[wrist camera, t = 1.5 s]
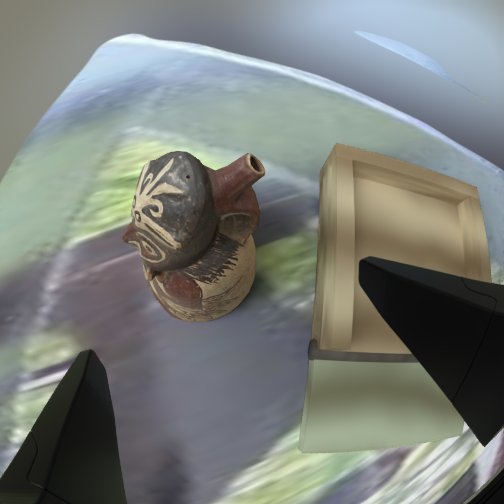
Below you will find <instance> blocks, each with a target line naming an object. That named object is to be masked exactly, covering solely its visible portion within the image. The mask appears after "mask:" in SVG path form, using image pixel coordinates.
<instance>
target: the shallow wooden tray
mask: <svg viewBox="0 0 504 504" xmlns="http://www.w3.org/2000/svg"><path fill="white" fill-rule="evenodd" d="M368 256H373V257H378V258H382V259H387V260H391V261H396V262H400V263H405V264H409V265H414V266H418V267H422V268H427V269H431V270H435V271H440V272H444V273H448V274H453V275H457V276H459V277H460V276H461V277H465V278H470V279H474V280H479V281H484V282H489V283H492V279H491V269H490V260H489V252H488V245H487V238H486V231H485V226H484V220H483V215H482V209H481V205H480V200H479V195H478V191H477V187H475V186H472V185H470V184H467V183H465V182H462V181H459V180H457V179H454V178H451V177H449V176H446V175H443V174H440V173H437V172H434V171H432V170H429V169H426V168H423V167H420V166H416V165H413V164H410V163H407V162H404V161H401V160H397V159H394V158H391V157H387V156H384V155H380V154H377V153H373V152H370V151H366V150H362V149H358V148H355V147H351V146H347V145H343V144H339V143H336V144H335V146H334V148H333V149H332V151H331V153H330V155H329V157H328V158H327V160H326V162H325V164H324V166H323V168H322V169H321V171H320V201H319V231H318V253H317V271H316V287H315V301H314V314H313V326H312V337H311V341H310V344H309V348H308V358H309V367H308V376H307V385H306V394H305V402H304V409H303V417H302V424H301V431H300V438H299V445H298V449H299V450H300V451H301V452H302V453H334V452H353V451H366V450H376V449H385V448H393V447H401V446H408V445H414V444H420V443H426V442H431V441H437V440H442V439H446V438H451V437H455V436H460V435H462V431H463V425H464V420H463V418H462V417H461V416H460V414H459V413H458V412H457V410H456V409H455V408H454V406H453V405H452V403H451V402H450V401H449V400H448V398H447V397H446V396H445V394H444V393H443V392H442V391H441V389H440V388H439V387H438V385H437V384H436V383H435V382H434V380H433V379H432V378H431V377H430V375H429V374H428V373H427V372H426V370H425V369H424V368H423V367H422V365H421V364H420V363H419V362H418V360H417V359H416V358H415V357H414V355H413V354H412V353H411V352H410V351H409V349H408V348H407V347H406V346H405V345H404V343H403V342H402V341H401V340H400V339H399V337H398V336H397V335H396V334H395V333H394V331H393V330H392V329H391V328H390V327H389V325H388V324H387V323H386V322H385V321H384V319H383V318H382V317H381V315H380V314H379V313H378V311H377V310H376V308H375V307H374V305H373V304H372V302H371V301H370V299H369V298H368V297H367V295H366V294H365V292H364V291H363V289H362V288H361V286H360V284H359V281H358V274H359V261H360V260H361V259H363V258H365V257H368Z"/></svg>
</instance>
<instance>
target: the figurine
mask: <svg viewBox="0 0 504 504" xmlns="http://www.w3.org/2000/svg"><path fill="white" fill-rule="evenodd" d="M264 175H265V169H264V167H263V165H262V163H261V162H260V161H259V160H258V159H257V158H256V157H255V156H253V155H252V154H249V153H247V154H245V155H244V156H242V157H240V158H239V159H237V160H236V161H234V162H233V163H231V164H230V165H228V166H226V167H223V168H221V169H218V170H213V169H211V168H209V167H207V166H204V165H203V164H202V163H201V162H200V160H199V159H197V158H196V157H194V156H193V155H191V154H190V153H188V152H182V151H175V152H170V153H167V154H165V155H163V156H161V157H160V158H158V159H156V160H152V161H149V162H148V163H147V164H146V165H144V166H143V169H142V171H141V174H140V177H139V181H138V184H137V188H136V192H135V196H134V200H133V204H132V211H131V216H132V222H131V224H130V225H129V226H128V228H126V229H125V231H124V233H123V237H122V240H123V241H124V242H125V243H129V244H132V245H133V246H134V247H136V248H137V249H138V251H139V254H140V256H141V258H142V261H143V269H144V274H145V277H146V279H147V282H148V285H149V287H150V289H151V290H152V293H153V295H154V296H155V298H156V299H157V300H158V301H159V303H160V304H161V306H162V307H163V308H164V309H165V310H166V311H167V312H168V313H169V315H170V316H171V317H174V318H177V319H180V320H183V321H190V322H204V321H211V320H214V319H217V318H220V317H222V316H224V315H226V314H228V313H230V312H231V311H232V310H234V309H235V308H236V307H237V306H238V305H239V304H240V303H241V302H242V300H243V299H244V298H245V297H246V295H247V294H248V293H249V291H250V288H251V286H252V283H253V281H254V278H255V267H256V248H255V244H254V240H253V237H252V233H253V232H254V231H255V230H256V229H257V227H258V223H259V218H260V210H259V206H258V202H257V199H256V195H255V192H254V190H253V188H252V186H251V185H253V184H254V183H255V182H257V181H258V180H259V179H260V178H262V177H263V176H264Z"/></svg>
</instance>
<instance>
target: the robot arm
mask: <svg viewBox="0 0 504 504" xmlns="http://www.w3.org/2000/svg"><path fill="white" fill-rule="evenodd" d="M358 281H359V284H360V286H361V288H362V289H363V291H364V292H365V294H366V295H367V297H368V298H369V299H370V301H371V302H372V304H373V305H374V307H375V308H376V310H377V311H378V313H379V314H380V315H381V317H382V318H383V319H384V321H385V322H386V323H387V324H388V325H389V327H390V328H391V329H392V330H393V331H394V333H395V334H396V335H397V336H398V337H399V339H400V340H401V341H402V342H403V343H404V345H405V346H406V347H407V348H408V349H409V351H410V352H411V353H412V354H413V355H414V357H415V358H416V359H417V360H418V362H419V363H420V364H421V365H422V367H423V368H424V369H425V370H426V372H427V373H428V374H429V375H430V377H431V378H432V379H433V380H434V382H435V383H436V384H437V385H438V387H439V388H440V389H441V391H442V392H443V393H444V394H445V396H446V397H447V398H448V400H449V401H450V402H451V403H452V405H453V406H454V408H455V409H456V410H457V412H458V413H459V414H460V416H461V417H462V418H463V420H464V421H465V422H466V424H467V425H468V426H469V428H470V429H471V430H472V432H473V433H474V434H475V436H476V437H477V439H478V440H479V441H480V443H481V444H482V445H483V446H484V447H485V446H486V445H487V444H488V443H489V442H490V441H491V440H492V439H493V438H494V437H495V436H496V435H497V434H498V433H499V432H500V431H501V430H502V429H503V428H504V285H501V284H495V283H489V282H484V281H479V280H474V279H470V278H465V277H461V276H460V277H459V276H457V275H453V274H448V273H444V272H440V271H435V270H431V269H427V268H422V267H418V266H414V265H409V264H405V263H400V262H396V261H391V260H387V259H382V258H378V257H373V256H368V257H365V258H363V259H361V260H360V261H359V274H358ZM31 431H32V432H31ZM31 431H30V432H29V434H28V436H27V437H26V439H25V441H24V442H23V444H22V446H21V447H20V449H19V451H18V452H17V454H16V456H15V457H14V459H13V460H12V462H11V463H10V465H9V466H8V468H7V469H6V471H5V472H4V474H3V475H2V477H1V478H0V504H127V500H126V495H125V489H124V484H123V478H122V472H121V466H120V459H119V452H118V444H117V436H116V426H115V417H114V411H113V406H112V401H111V395H110V390H109V384H108V379H107V373H106V370H105V367H104V366H103V364H102V363H101V361H100V360H99V358H98V357H97V355H96V353H95V352H94V351H93V350H91V349H89V350H85V351H82V352H80V353H79V355H78V356H77V357H76V359H75V360H74V362H73V363H72V365H71V366H70V368H69V369H68V371H67V372H66V374H65V376H64V377H63V379H62V380H61V382H60V383H59V385H58V386H57V388H56V389H55V391H54V393H53V394H52V396H51V397H50V399H49V401H48V402H47V404H46V405H45V407H44V409H43V410H42V412H41V414H40V415H39V417H38V419H37V420H36V422H35V424H34V425H33V427H32V429H31ZM463 504H504V465H503V466H502V467H501V468H500V469H499V470H498V471H497V472H496V473H495V474H494V475H493V476H492V477H491V478H490V479H489V480H488V481H487V482H486V483H485V484H484V485H483V486H482V487H481V488H480V489H479V490H478V491H477V492H475V493H474V494H473V495H472V496H471V497H470V498H469V499H468V500H466V501H465V502H464V503H463Z"/></svg>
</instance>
